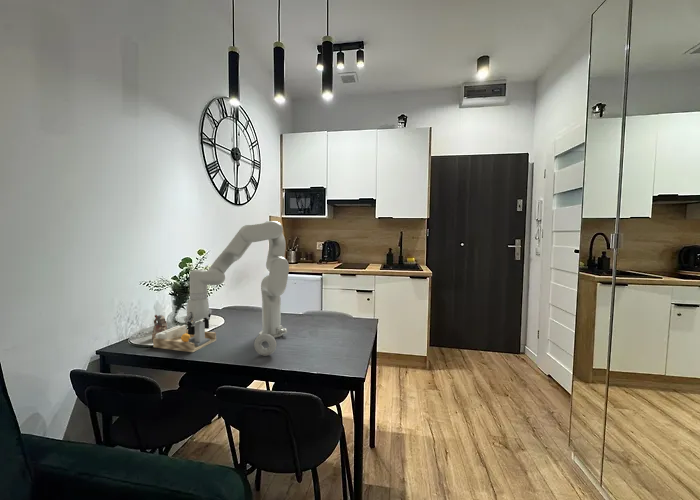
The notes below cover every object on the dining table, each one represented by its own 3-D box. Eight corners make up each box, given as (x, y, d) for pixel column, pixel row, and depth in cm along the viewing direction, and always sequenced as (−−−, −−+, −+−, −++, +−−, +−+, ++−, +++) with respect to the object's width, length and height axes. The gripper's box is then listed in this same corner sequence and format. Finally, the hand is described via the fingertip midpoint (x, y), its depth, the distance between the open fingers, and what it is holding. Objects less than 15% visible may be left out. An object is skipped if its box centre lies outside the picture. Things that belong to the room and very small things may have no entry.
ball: (192, 340, 157) (192, 332, 157) (186, 343, 153) (185, 335, 153) (185, 339, 158) (185, 331, 158) (179, 342, 154) (178, 334, 154)
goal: (187, 336, 164) (187, 324, 164) (165, 345, 150) (165, 333, 150) (178, 334, 165) (178, 323, 165) (156, 344, 152) (155, 332, 151)
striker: (209, 340, 157) (209, 320, 156) (198, 346, 149) (197, 325, 149) (200, 339, 158) (200, 319, 158) (188, 345, 151) (188, 324, 150)
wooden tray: (216, 340, 161) (215, 332, 161) (193, 352, 146) (192, 343, 145) (179, 336, 166) (179, 328, 166) (153, 347, 151) (153, 338, 151)
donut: (253, 356, 142) (252, 334, 141) (255, 353, 145) (255, 332, 144) (275, 357, 141) (275, 335, 140) (277, 354, 145) (277, 332, 144)
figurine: (161, 341, 159) (160, 317, 158) (148, 339, 161) (148, 316, 160) (171, 336, 166) (171, 313, 165) (159, 335, 168) (159, 312, 167)
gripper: (204, 291, 162) (204, 325, 163) (177, 298, 145) (178, 336, 146) (217, 293, 160) (217, 326, 161) (192, 300, 143) (192, 337, 144)
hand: (198, 331), depth 153 cm, fingers open, 9 cm apart
